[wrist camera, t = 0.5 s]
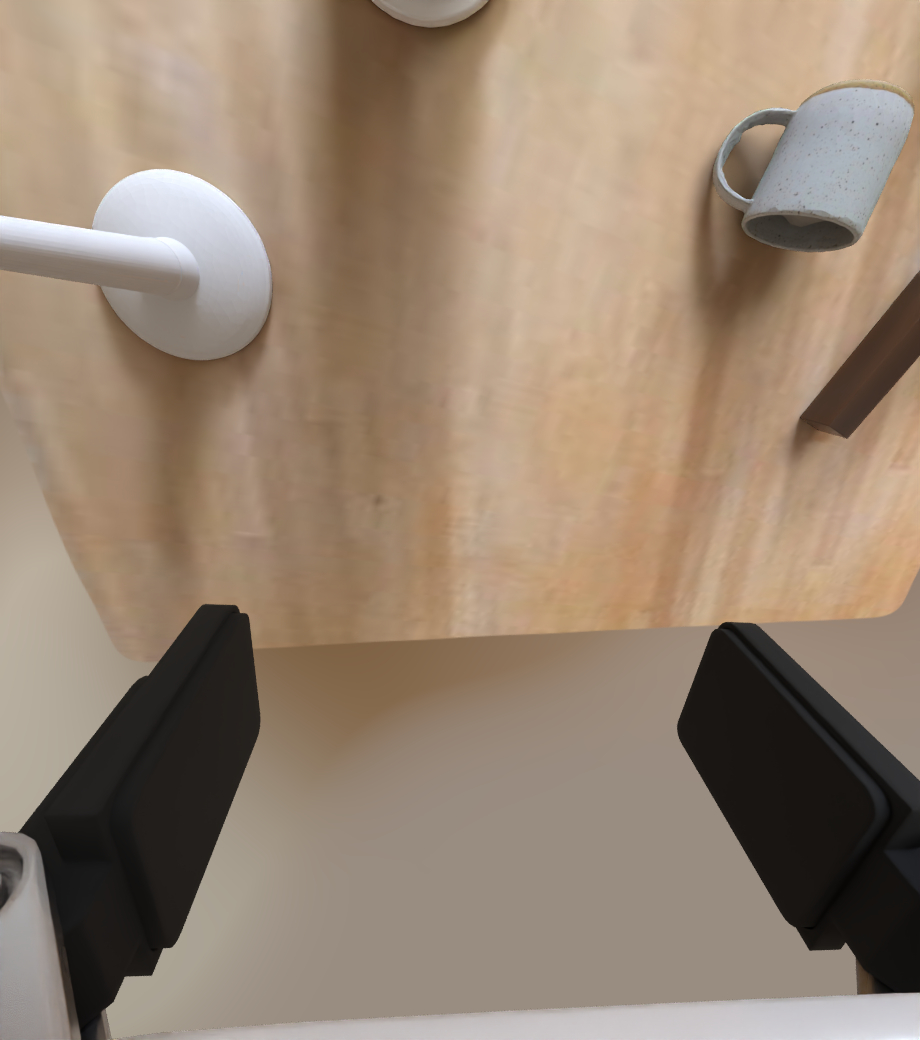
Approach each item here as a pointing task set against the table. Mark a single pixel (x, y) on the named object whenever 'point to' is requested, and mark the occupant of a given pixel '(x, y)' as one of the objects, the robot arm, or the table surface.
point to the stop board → (870, 368)
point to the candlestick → (159, 262)
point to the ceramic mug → (822, 165)
